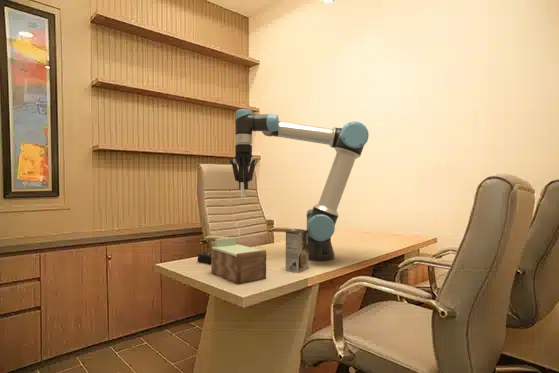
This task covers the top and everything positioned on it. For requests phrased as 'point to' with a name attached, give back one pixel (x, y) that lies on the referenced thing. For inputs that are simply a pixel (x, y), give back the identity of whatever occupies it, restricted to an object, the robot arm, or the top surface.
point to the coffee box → (297, 250)
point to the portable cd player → (205, 258)
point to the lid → (231, 246)
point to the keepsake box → (239, 266)
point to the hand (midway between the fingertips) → (243, 196)
